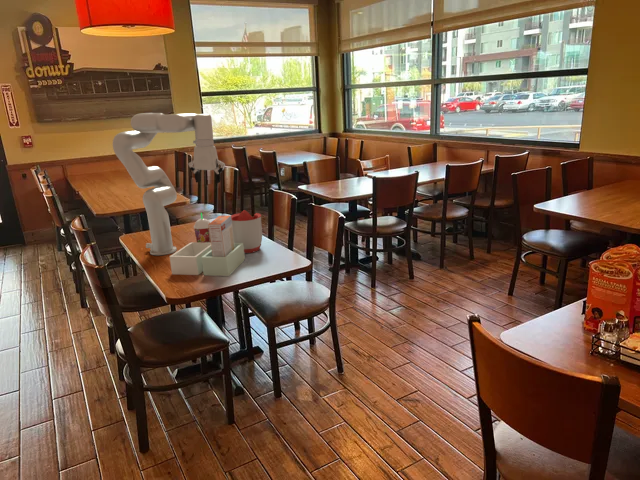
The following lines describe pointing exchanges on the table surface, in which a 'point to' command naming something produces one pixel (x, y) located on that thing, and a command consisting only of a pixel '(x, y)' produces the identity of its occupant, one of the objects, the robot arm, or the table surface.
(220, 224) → the cracker box
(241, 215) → the citrus juicer
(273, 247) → the table surface
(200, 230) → the smoothie
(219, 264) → the bin
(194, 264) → the white open tray
